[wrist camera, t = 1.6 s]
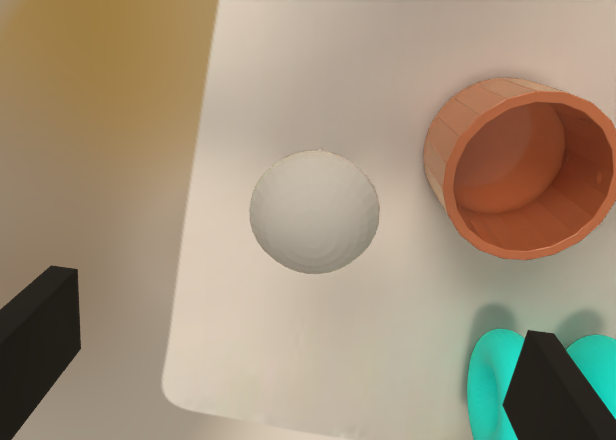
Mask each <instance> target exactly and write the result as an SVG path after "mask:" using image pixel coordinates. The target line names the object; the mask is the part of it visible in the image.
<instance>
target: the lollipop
mask: <svg viewBox="0 0 616 440" xmlns="http://www.w3.org/2000/svg"><path fill="white" fill-rule="evenodd" d="M379 209H380V207H379V201H378V196H377V193H376V191H375V188H374V185H373V184H372V182H371V181H370V179H369V178H368V176H367V175H366V174H365V173H364V172H363V171H362V170H361V169H360V168H359V167H357V166H356V165H354V164H353V163H351V162H350V161H348V160H347V159H345V158H344V157H341V156H339V155H337V154H334V153H330V152H326V151H323V149H321V148H320V149H318V150H317V151H314V150H309V151H303V152H298V153H295V154H293V155H290V156H287V157H286V158H284V159H282V160H281V161H279V162H278V163H276V164H275V165H273V166H272V167H271V168H270V169H269V170H268V171H266V172H265V173H264V174H263V176H262V177H261V179H260V180H259V181H258V183H257V185H256V187H255V189H254V191H253V194H252V199H251V204H250V223H251V227H252V231H253V233H254V236H255V238H256V240H257V242H258V243H259V244H260V246H261V247H262V248H263V249H264V251H265V252H266V253H268V254H269V255H270V256H271V257H272V258H273V259H274V260H276V261H277V262H279V263H280V264H282V265H283V266H285V267H287V268H289V269H292V270H294V271H298V272H302V273H307V274H321V273H328V272H332V271H335V270H338V269H340V268H342V267H344V266H346V265H348V264H349V263H351V262H352V261H353V260H354V259H356V258H357V257H358V256H360V255H361V254H362V253H363V252H364V251H365V250H366V248H367V247H368V246H369V245H370V243H371V241H372V240H373V238H374V236H375V234H376V230H377V227H378V224H379Z"/></svg>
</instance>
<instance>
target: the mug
mask: <svg viewBox="0 0 616 440" xmlns="http://www.w3.org/2000/svg"><path fill="white" fill-rule="evenodd" d="M423 160H424V168H425V173H426V176H427V179H428V182H429V184H430V186H431V187H432V189H433V191H434V192H435V194H436V196H437V197H438V199H439V201H440V203H441V204H442V206H443V208H444V209H445V211H446V213H447V214H448V216H449V218H450V219H451V221H452V223H453V224H454V226H455V228H456V229H457V231H458V233H459V234H460V235H461V236H462V237H463V238H465V239H466V240H467V241H468V242H470V243H471V244H472V245H473V246H474V247H476V248H477V249H479V250H481V251H483V252H486V253H489V254H492V255H494V256H497V257H500V258H503V259H519V260H531V259H535V258H540V257H545V256H549V255H554V254H556V253H558V252H560V251H562V250H564V249H566V248H568V247H570V246H572V245H574V244H576V243H578V242H580V241H581V240H582V239H583V238H585V237H586V236H587V235H588V234H589V233H590V232H591V231H592V230H594V229H595V228H596V227H597V226H598V225H599V224H600V223H601V222H602V221H603V219H604V218H605V216H606V215H607V213H608V212H609V210H610V209H611V207H612V205H613V204H614V202H615V201H616V129H615V127H614V125H613V123H612V121H611V120H610V119H609V118H608V117H607V116H606V115H605V114H604V113H603V112H602V111H601V110H600V109H599V108H598V107H596V106H595V105H594V104H593V103H591V102H589V101H587V100H584V99H582V98H580V97H577V96H575V95H572V94H570V93H567V92H564V91H561V90H557V89H554V88H551V87H548V86H545V85H541V84H538V83H535V82H532V81H528V80H525V79H517V78H494V79H488V80H484V81H481V82H478V83H476V84H473V85H471V86H469V87H467V88H465V89H463V90H462V91H460V92H459V93H457V94H456V95H455V96H453V97H452V98H451V99H450V100H449V101H448V102H447V103H446V104H445V105H444V106H443V107H442V108H441V109H440V111H439V112H438V113H437V115H436V116H435V118H434V120H433V121H432V123H431V125H430V128H429V130H428V133H427V136H426V139H425V144H424V153H423Z"/></svg>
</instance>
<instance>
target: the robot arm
mask: <svg viewBox="0 0 616 440" xmlns="http://www.w3.org/2000/svg"><path fill="white" fill-rule="evenodd" d="M80 341H81V340H80V316H79V292H78V270H77V269H72V268H65V267H58V266H50V267H49V268H48V269H47V270H45V271H44V272H43V273H42V274H41V275H40V276H39V277H37V278H36V279H35V280H34V281H33V282H32V283H31V284H29V285H28V286H27V287H26V288H25V289H24V290H22V291H21V292H20V293H19V294H18V295H17V296H16V297H14V298H13V299H12V300H11V301H10V302H9V303H7V304H6V305H5V306H4V307H3V308H2V309H1V310H0V440H11V439H12V438H13V437H14V436H15V434H16V433H17V432H18V430H19V429H20V428H21V426H22V425H23V424H24V422H25V421H26V420H27V419H28V417H29V416H30V415H31V413H32V412H33V411H34V409H35V408H36V407H37V405H38V404H39V403H40V402H41V400H42V399H43V398H44V396H45V395H46V394H47V392H48V391H49V390H50V388H51V387H52V386H53V384H54V383H55V382H56V381H57V379H58V378H59V377H60V375H61V374H62V372H63V371H64V370H65V369H66V367H67V366H68V365H69V363H70V362H71V361H72V360H73V358H74V357H75V356H76V354H77V353H78V352H79V350H80V349H81V342H80ZM502 406H503V408H504V410H505V412H506V414H507V417H508V419H509V421H510V423H511V426H512V428H513V430H514V432H515V434H516V437H517V439H518V440H616V419H615V417H614V416H613V415H612V413H611V412H610V411H609V409H608V408H607V406H606V405H605V404H604V402H603V401H602V399H601V398H600V397H599V395H598V394H597V393H596V391H595V390H594V388H593V387H592V386H591V384H590V383H589V381H588V380H587V379H586V377H585V376H584V375H583V373H582V372H581V370H580V369H579V368H578V366H577V365H576V363H575V362H574V361H573V359H572V358H571V357H570V355H569V354H568V352H567V351H566V350H565V348H564V347H563V345H562V344H561V343H560V341H559V340H558V339H557V337H556V336H555V334H553V333H545V332H538V331H530V330H528V332H527V334H526V337H525V340H524V343H523V346H522V349H521V352H520V355H519V358H518V361H517V364H516V366H515V369H514V372H513V375H512V378H511V381H510V384H509V387H508V390H507V393H506V395H505V398H504V401H503V404H502Z"/></svg>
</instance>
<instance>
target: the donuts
mask: <svg viewBox="0 0 616 440" xmlns="http://www.w3.org/2000/svg"><path fill="white" fill-rule="evenodd" d="M524 340H525V339H524V338H523V337H522V336H521V335H519V334H517V333H515V332H514V331H511V330H507V329H495V330H491V331H489V332H487V333H485V334H484V335H483V336H482V337H481V338H480V339H479V340H478V342H477V344H476V345H475V348H474V350H473V352H472V356H471V359H470V364H469V371H468V382H467V400H468V413H469V420H470V426H471V430H472V435H473V438H474V440H518V439H517V437H516V434H515V432H514V430H513V428H512V426H511V423H510V421H509V419H508V417H507V414H506V412H505V410H504V408H503V406H502V404H503V401H504V398H505V395H506V393H507V390H508V387H509V384H510V381H511V378H512V375H513V372H514V369H515V366H516V364H517V361H518V358H519V355H520V352H521V349H522V346H523V343H524ZM566 351H567V352H568V354H569V355H570V357H571V358H572V359H573V361H574V362H575V363H576V365H577V366H578V368H579V369H580V370H581V372H582V373H583V375H584V376H585V377H586V379H587V380H588V381H589V383H590V384H591V386H592V387H593V388H594V390H595V391H596V393H597V394H598V395H599V397H600V398H601V399H602V401H603V402H604V404H605V405H606V406H607V408H608V409H609V411H610V412H611V413H612V415H613V416H614V417H615V419H616V339H614V338H611V337H608V336H603V335H590V336H585V337H583V338H580V339H578V340H577V341H575V342H574V343H572V344H571V345H570V346H569V347H568V348H567V350H566Z"/></svg>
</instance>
